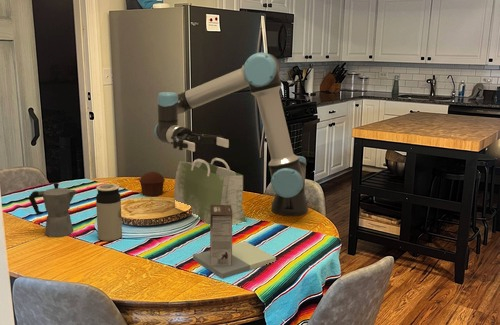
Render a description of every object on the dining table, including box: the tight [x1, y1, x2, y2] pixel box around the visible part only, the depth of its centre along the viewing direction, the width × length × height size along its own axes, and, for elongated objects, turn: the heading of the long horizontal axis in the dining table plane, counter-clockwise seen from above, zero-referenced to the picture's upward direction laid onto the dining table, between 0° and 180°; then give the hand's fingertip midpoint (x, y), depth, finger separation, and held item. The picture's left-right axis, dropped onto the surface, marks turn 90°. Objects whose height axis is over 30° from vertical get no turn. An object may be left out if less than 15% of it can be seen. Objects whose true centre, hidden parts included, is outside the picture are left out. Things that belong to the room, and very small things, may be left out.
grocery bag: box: [173, 157, 247, 225], centre depth 188 cm, size 32×14×23 cm, turn 42°
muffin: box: [138, 171, 166, 198], centre depth 216 cm, size 12×11×10 cm
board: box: [192, 240, 277, 279], centre depth 148 cm, size 20×16×2 cm
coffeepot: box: [28, 182, 78, 238], centre depth 166 cm, size 15×9×18 cm, turn 110°
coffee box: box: [209, 205, 233, 266], centre depth 143 cm, size 9×6×16 cm
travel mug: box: [95, 183, 123, 242], centre depth 163 cm, size 8×8×18 cm
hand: (211, 145), depth 163 cm, fingers open, 13 cm apart
